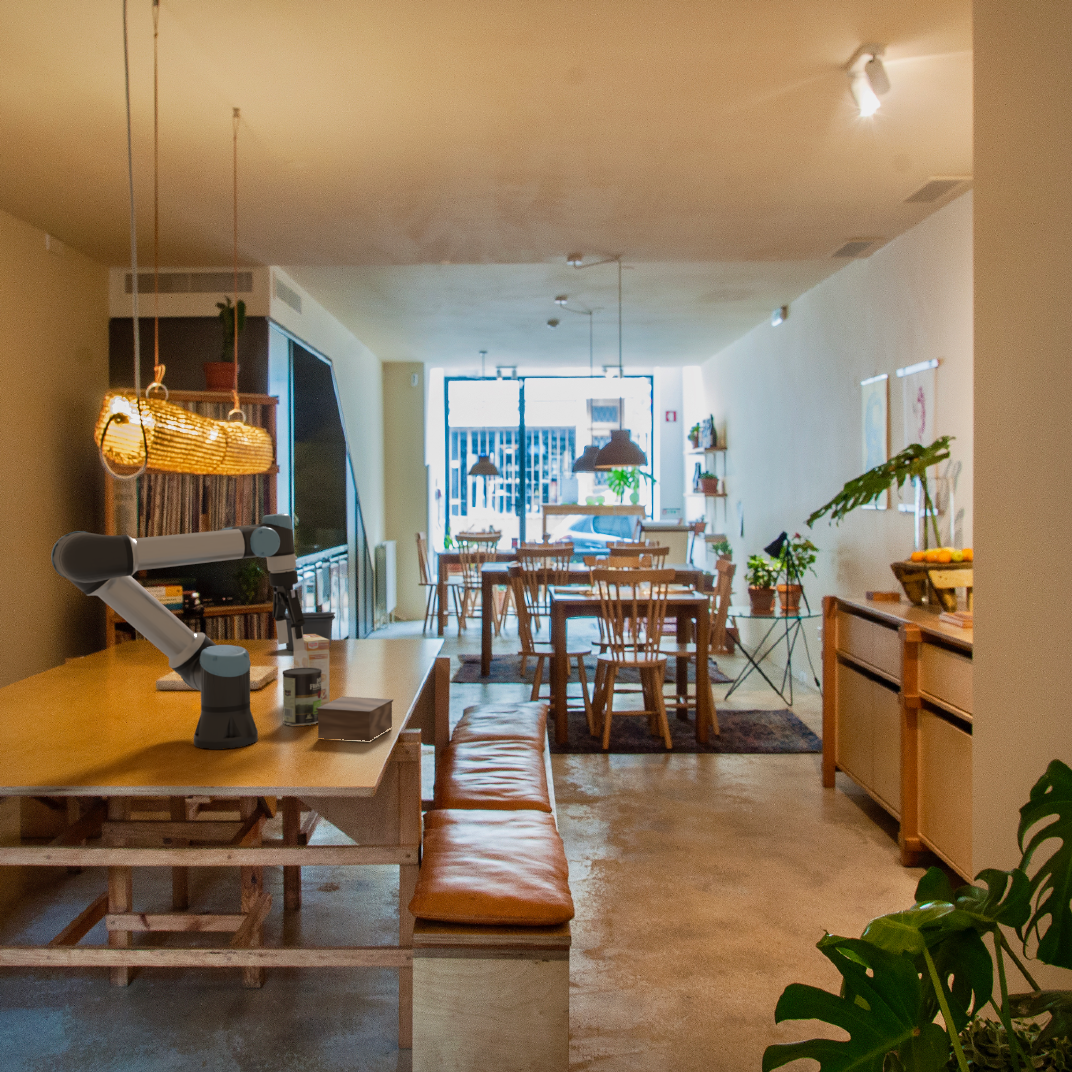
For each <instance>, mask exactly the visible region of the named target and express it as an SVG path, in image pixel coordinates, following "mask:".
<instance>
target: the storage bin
mask: <svg viewBox="0 0 1072 1072" xmlns="http://www.w3.org/2000/svg"><path fill="white" fill-rule="evenodd" d="M302 614H303V617H304V621H305V624H303V626H302V629H303V635H304V634H316V635H319V636H321V637H323V638H326V639H329V640H330V641H329V648H330V647H331V642H332V629H333V627H332V626H333V620H334V619H336V616H335V614H336V612H334V611H333V612H331V611H329V612H328V611H327V612H326V611H325V612H324V611H323V612H322V611H321V612H319V611H317V612H302ZM285 615H286V617H287V619H283V620H286V624H287V632H288V641H289V643H285V646H286V650H287V651H294V646H293V637H292V628H290V626H291V624H292V623H291V620H290V617H289V614H288V612H286V613H285Z"/></svg>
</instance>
